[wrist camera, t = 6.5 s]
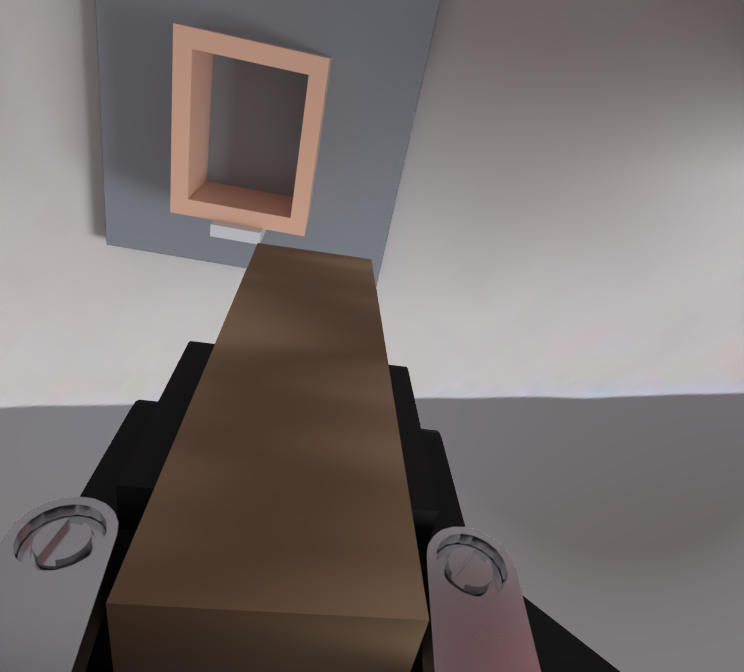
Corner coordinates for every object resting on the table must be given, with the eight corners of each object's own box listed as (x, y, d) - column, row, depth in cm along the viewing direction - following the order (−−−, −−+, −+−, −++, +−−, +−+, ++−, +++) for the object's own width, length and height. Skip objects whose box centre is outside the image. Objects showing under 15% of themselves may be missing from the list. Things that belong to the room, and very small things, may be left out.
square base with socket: (439, -11, 26) (461, -25, 21) (374, 283, 33) (379, 324, 28) (100, -96, 23) (33, -135, 18) (113, 238, 31) (68, 275, 26)
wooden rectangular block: (371, 259, 14) (429, 620, 5) (346, 396, 16) (356, 819, 7) (257, 242, 13) (106, 602, 5) (247, 385, 15) (129, 819, 7)
